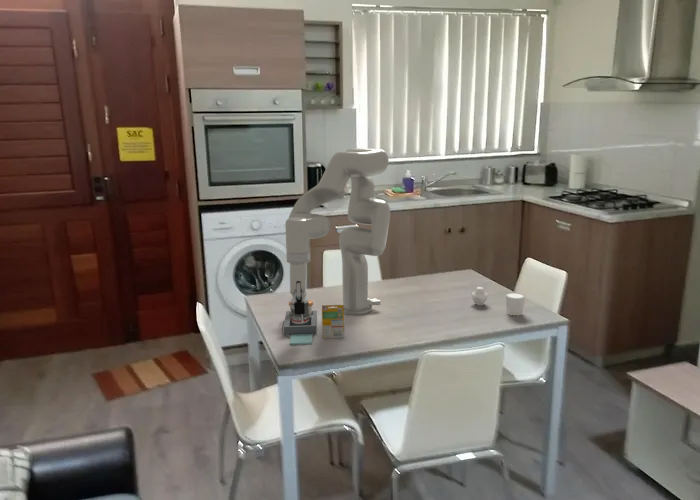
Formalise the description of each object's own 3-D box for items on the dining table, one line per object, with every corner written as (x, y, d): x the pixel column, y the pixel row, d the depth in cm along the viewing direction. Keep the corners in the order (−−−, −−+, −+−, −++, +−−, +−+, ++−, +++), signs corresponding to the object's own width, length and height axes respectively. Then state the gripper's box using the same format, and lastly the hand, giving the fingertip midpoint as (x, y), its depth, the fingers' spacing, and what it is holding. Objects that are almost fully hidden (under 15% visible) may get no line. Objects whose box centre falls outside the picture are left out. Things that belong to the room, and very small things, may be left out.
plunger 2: (313, 317, 202) (313, 300, 201) (313, 321, 199) (312, 303, 197) (303, 317, 202) (303, 300, 201) (303, 321, 199) (302, 303, 197)
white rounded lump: (469, 305, 214) (470, 288, 213) (472, 300, 220) (473, 283, 218) (486, 307, 212) (487, 290, 210) (488, 302, 217) (489, 285, 216)
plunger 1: (299, 317, 202) (299, 300, 201) (299, 321, 199) (298, 304, 197) (289, 318, 202) (289, 300, 200) (289, 321, 199) (288, 304, 197)
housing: (317, 318, 203) (316, 310, 203) (316, 334, 189) (316, 326, 188) (286, 319, 203) (286, 311, 202) (283, 335, 188) (283, 327, 188)
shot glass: (525, 311, 207) (526, 293, 206) (522, 317, 201) (524, 299, 200) (506, 309, 210) (507, 291, 208) (503, 315, 204) (504, 297, 202)
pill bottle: (305, 316, 186) (304, 288, 184) (311, 322, 181) (310, 293, 179) (288, 319, 184) (287, 290, 181) (294, 325, 179) (293, 295, 176)
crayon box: (344, 334, 188) (343, 301, 186) (344, 338, 186) (344, 304, 183) (322, 335, 188) (321, 302, 185) (322, 338, 185) (321, 305, 182)
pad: (312, 335, 188) (312, 334, 188) (311, 344, 181) (311, 342, 181) (291, 336, 187) (291, 334, 187) (290, 344, 181) (290, 343, 180)
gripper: (288, 250, 185) (289, 302, 190) (284, 264, 169) (286, 320, 173) (310, 249, 186) (312, 301, 190) (309, 263, 169) (311, 319, 173)
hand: (300, 310), depth 181 cm, fingers closed on pill bottle, 5 cm apart
